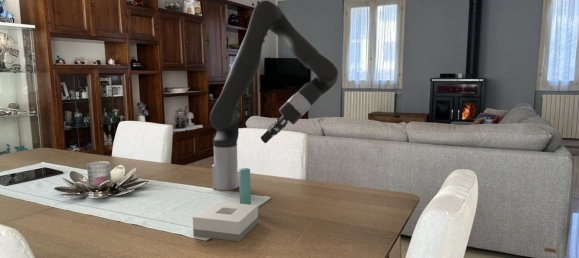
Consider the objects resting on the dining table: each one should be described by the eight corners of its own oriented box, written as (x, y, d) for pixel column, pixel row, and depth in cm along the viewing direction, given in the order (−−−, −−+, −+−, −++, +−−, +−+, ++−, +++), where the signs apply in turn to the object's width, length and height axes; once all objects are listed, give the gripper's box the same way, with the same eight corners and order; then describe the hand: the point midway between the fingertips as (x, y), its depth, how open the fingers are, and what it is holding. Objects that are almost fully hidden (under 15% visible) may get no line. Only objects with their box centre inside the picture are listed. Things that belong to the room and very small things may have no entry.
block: (193, 235, 109) (192, 216, 108) (216, 218, 122) (216, 201, 121) (239, 241, 105) (238, 222, 104) (258, 222, 118) (257, 205, 117)
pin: (238, 211, 128) (237, 170, 126) (242, 208, 131) (241, 167, 129) (248, 212, 127) (247, 171, 125) (252, 209, 130) (251, 168, 128)
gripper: (285, 101, 143) (254, 132, 142) (289, 99, 129) (255, 134, 128) (299, 115, 144) (269, 146, 143) (305, 115, 130) (271, 150, 129)
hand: (262, 140), depth 136 cm, fingers open, 8 cm apart
